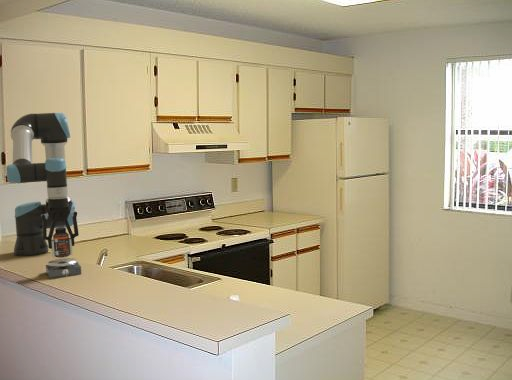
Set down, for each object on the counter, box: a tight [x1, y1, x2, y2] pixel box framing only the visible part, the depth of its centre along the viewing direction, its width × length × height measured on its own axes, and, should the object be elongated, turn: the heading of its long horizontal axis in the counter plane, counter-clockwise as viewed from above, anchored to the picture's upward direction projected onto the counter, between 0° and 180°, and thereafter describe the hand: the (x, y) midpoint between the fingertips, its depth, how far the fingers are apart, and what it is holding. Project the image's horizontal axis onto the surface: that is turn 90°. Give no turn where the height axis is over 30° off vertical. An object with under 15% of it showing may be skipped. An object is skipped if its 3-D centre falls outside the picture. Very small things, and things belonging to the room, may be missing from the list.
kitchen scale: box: [45, 257, 82, 279], centre depth 229 cm, size 12×12×5 cm
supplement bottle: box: [52, 227, 71, 259], centre depth 228 cm, size 6×6×11 cm
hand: (62, 255), depth 229 cm, fingers closed on supplement bottle, 6 cm apart
